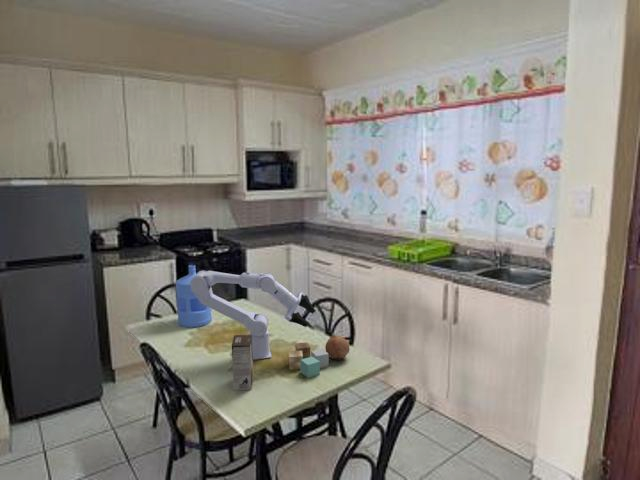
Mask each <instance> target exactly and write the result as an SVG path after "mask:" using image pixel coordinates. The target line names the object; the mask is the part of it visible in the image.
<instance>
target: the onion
mask: <svg viewBox="0 0 640 480" xmlns="http://www.w3.org/2000/svg"><path fill="white" fill-rule="evenodd" d="M324 350H325V351H326V352H327V353H328V354H329V357H330V358H331V359H333V360H336V361H341V360H343V359H344V358H346V357H347V355H348V354H349V353H350V344H349V342H348V340H347V339H346V338H344V337H343V336H339V335H336V334H332V336H330V337H329V338H328V340H327V341H326V343H325V348H324Z"/></svg>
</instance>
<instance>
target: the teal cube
mask: <svg viewBox="0 0 640 480" xmlns="http://www.w3.org/2000/svg"><path fill="white" fill-rule="evenodd" d="M320 371H321V368H320V361H318V360H317V359H315V358H314V357H311V356H310V357H309V358H305V359H302V360H301V369H300V373H301V374H303V376H305V377H306V378H307V379H309V378H312V377H315V376H319V375H320Z"/></svg>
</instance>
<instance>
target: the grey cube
mask: <svg viewBox="0 0 640 480" xmlns="http://www.w3.org/2000/svg"><path fill="white" fill-rule="evenodd" d="M310 357H314V358H315V359H317V360H318V361H320V369H321V368H326V367H329V366H330V365H329V361H330V359H329V357H330V356H329V354H328V353H327V352H326V349H325V348H321V349H315V350H314V349H313V350H310Z"/></svg>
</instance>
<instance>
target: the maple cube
mask: <svg viewBox="0 0 640 480" xmlns="http://www.w3.org/2000/svg"><path fill="white" fill-rule="evenodd" d="M302 359H303V354H302V351H295V350H293V351H292V350H291V351H290V350H288V363H289V364H288V365H289V370H301V360H302Z"/></svg>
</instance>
